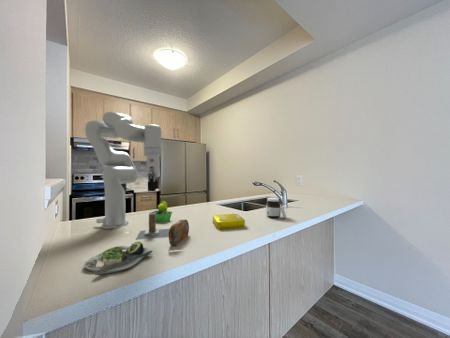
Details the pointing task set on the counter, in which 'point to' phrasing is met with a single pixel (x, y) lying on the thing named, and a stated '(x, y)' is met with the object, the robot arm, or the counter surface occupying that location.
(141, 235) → the mat
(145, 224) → the counter surface
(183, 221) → the tin
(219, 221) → the element tile
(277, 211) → the spread jar
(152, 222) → the wood block on base
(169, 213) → the fruit basket
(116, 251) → the salad plate
